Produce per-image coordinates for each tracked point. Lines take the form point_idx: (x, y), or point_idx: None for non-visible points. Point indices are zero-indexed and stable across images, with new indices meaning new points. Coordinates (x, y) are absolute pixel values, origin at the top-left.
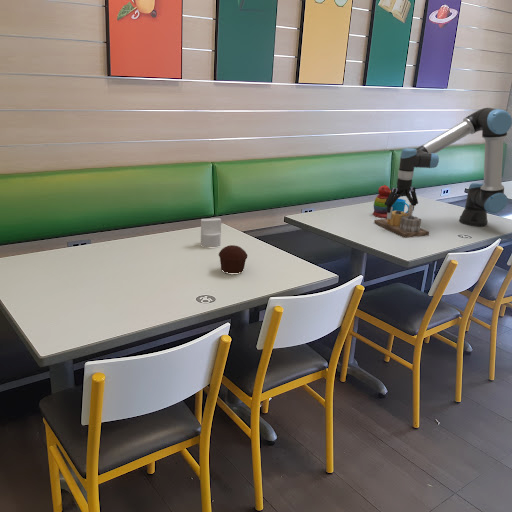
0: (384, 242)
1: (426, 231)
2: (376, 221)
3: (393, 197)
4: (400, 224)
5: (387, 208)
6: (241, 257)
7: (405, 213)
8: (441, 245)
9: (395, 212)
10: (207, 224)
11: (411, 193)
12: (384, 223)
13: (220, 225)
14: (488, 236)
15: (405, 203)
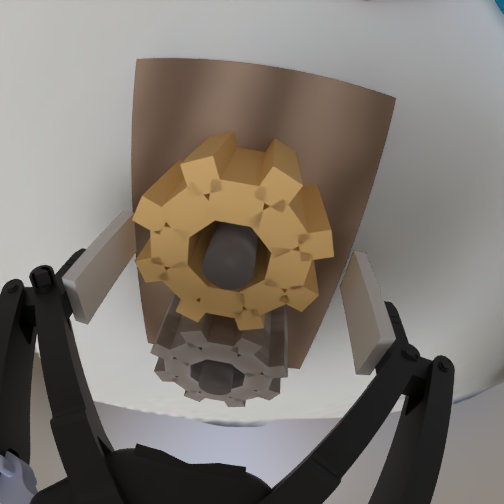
0: None
1: (290, 363)
2: (136, 87)
3: (49, 387)
4: (167, 312)
5: (59, 275)
6: None
7: (288, 296)
8: (238, 407)
9: (226, 219)
10: None
11: (399, 486)
12: (147, 169)
13: None
14: (462, 391)
15: None
